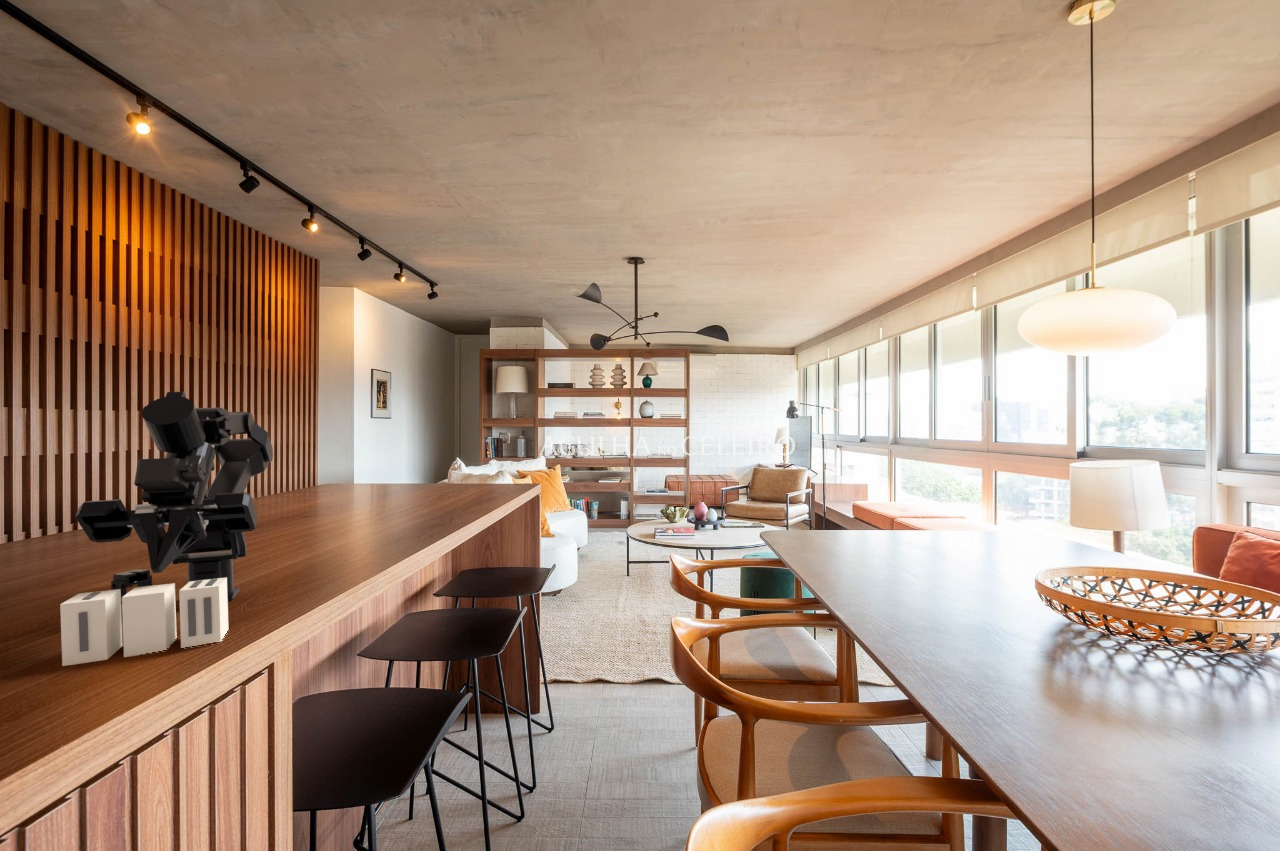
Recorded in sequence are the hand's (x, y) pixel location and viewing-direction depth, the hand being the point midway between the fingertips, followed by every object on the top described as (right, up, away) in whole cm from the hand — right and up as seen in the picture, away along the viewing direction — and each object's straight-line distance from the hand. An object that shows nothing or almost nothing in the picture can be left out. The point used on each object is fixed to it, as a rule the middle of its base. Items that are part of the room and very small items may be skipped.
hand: (155, 571), depth 77 cm
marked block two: (+6, -9, 0) cm, 11 cm away
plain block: (+1, -9, -2) cm, 9 cm away
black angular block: (-21, -10, +22) cm, 32 cm away
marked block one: (-4, -9, -4) cm, 11 cm away
